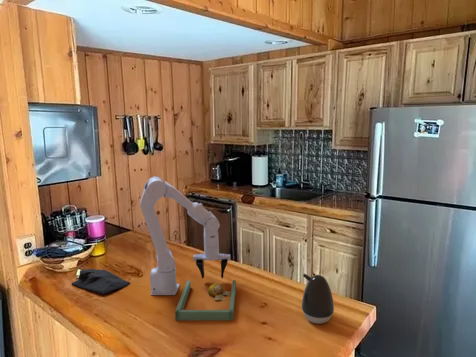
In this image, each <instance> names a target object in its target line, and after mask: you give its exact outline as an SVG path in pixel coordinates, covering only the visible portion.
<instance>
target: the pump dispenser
mask: <svg viewBox="0 0 476 357" xmlns="http://www.w3.org/2000/svg"><path fill="white" fill-rule="evenodd" d="M302 276H303V278H305V279H306V280H307V281H308V282H307V283H306V286H305V288H304V291H303V295H302V301H301V309H302V310H301V311H302V312H303V315H304V317H305V318H306V319H307V321H309V322H311V323H314V324H317V325H318V324H325V323H327V322H329V320H330V319H331V318H332V316H333V314H334V312H335V306H334V305H335V303H334V297H333V293H332V290H331V287H330V285H329V282H328V281H327V279H326V278H325V276H323V275H321V274H314V275H313V276H312V277H311V276H309V275H307V274H306V273H303V275H302Z"/></svg>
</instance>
